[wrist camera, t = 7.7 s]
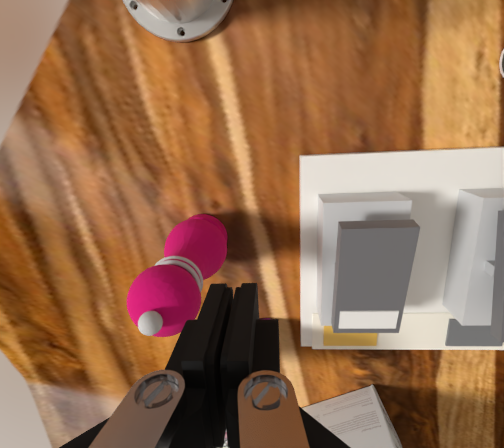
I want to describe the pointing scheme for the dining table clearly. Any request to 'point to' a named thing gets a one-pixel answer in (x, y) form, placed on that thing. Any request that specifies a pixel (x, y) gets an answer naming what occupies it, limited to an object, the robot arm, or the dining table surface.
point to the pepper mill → (178, 277)
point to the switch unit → (428, 246)
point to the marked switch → (372, 274)
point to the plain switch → (498, 283)
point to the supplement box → (357, 419)
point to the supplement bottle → (502, 63)
